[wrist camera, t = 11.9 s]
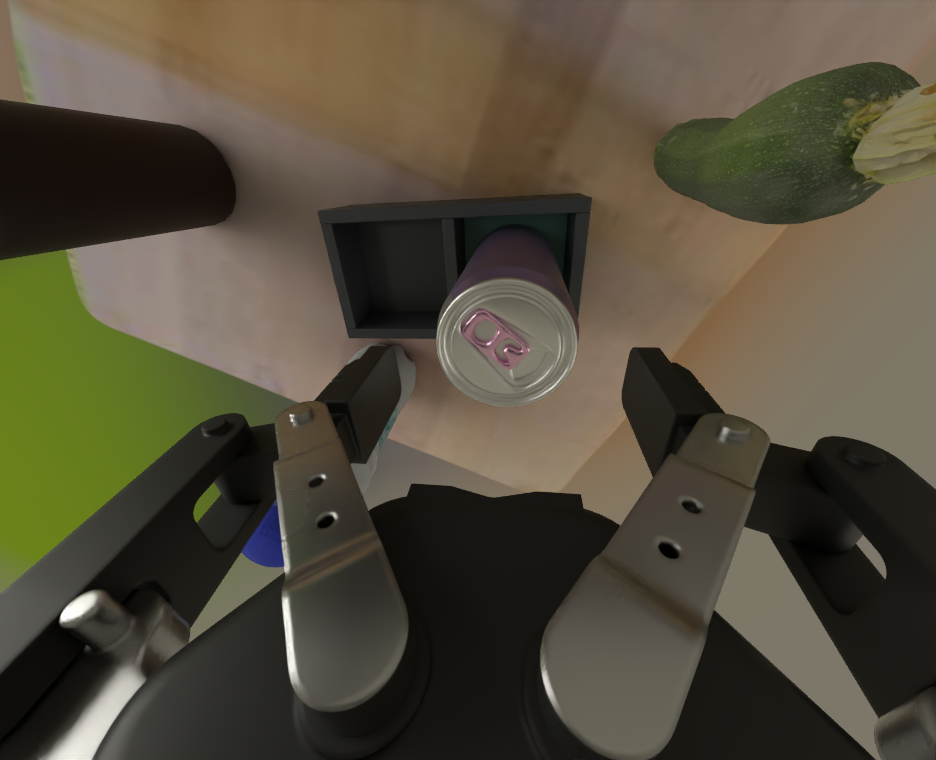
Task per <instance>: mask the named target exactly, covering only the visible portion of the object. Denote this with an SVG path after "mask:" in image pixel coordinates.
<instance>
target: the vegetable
mask: <svg viewBox="0 0 936 760" xmlns="http://www.w3.org/2000/svg"><path fill="white" fill-rule="evenodd" d="M653 158H654V166H655V169H656V173H657V175H658V176H659V177H660V178H661V179H662V180H663V181H664V182H665V183H666V184H667V185H668V186H669V187H670V188H671V189H672V190H674V191H676V192H678V193H680V194H682V195H684V196H687V197H690V198H692V199H694V200H697V201H700V202H702V203H705V204H706V205H707V206H709V207H711V208H713V209H715V210H718V211H720V212H724V213H726V214H729V215H731V216H733V217H736V218H739V219H743V220H747V221H753V222H759V223H765V224H797V223H804V222H808V221H812V220H817V219H820V218H824V217H828V216H831V215H836V214H839V213H842V212H845V211H846V210H849V209H851V208H853V207H855V206H857V205H859V204H861V203H863V202H864V201H865V200H866V199H868V198H869V197H870V196H871V195H873V194H874V193H875V192H876V191H878V190H879V189H880V188H881V187H882V186H884V185H885V184H893V183H899V182H904V181H909V180H912V179H916V178H920V177H923V176H927V175H931V174H934V173H936V81H935V82H933V83H930V84H927V85H923V86H920V85H919V83H918V82H917V81H916V80H915V79H914V77H912V76H911V75H909V74H907V73H906V72H904V71H903V70H901V69H900V68H898V67H896V66H895V65H891V64H886V63H881V62H869V63H862V64H856V65H851V66H847V67H843V68H839V69H834V70H831V71H828V72H825V73H821V74H818V75H815V76H812V77H809V78H806V79H803V80H800V81H798V82H795V83H793V84H791V85H789V86H787V87H785V88H783V89H781V90H780V91H778V92H776V93H775V94H773V95H771V96H770V97H768V98H766V99H765V100H763V101H761V102H760V103H758V104H757V105H755V106H753V107H752V108H750V109H748V110H747V111H745V112H744V113H742V114H741V115H739V116H738V117H737V118H735V119H730V118H710V119H694V120H690V121H688V122H686V123H680V124H677V125H676V126H675V127H674V128H673V129H672V130H671V131H670V132H668V133H667V135H666V136H665V137H664V138H663V140H661V141H660V142H659V143H658V144H657V145H656V151H655V155H654V157H653Z"/></svg>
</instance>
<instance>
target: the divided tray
mask: <svg viewBox="0 0 936 760" xmlns="http://www.w3.org/2000/svg"><path fill="white" fill-rule="evenodd" d="M591 200H592V198H591V197H589V196H586V195H583V194H580V193H575V194H556V195H537V196H517V197H498V198H479V199H459V200H440V201H421V202H401V203H382V204H363V205H348V206H342V207H337V208H331V209H326V210H320V211H318V215H319V219H320V223H321V227H322V231H323V235H324V239H325V243H326V247H327V251H328V256H329V260H330V264H331V268H332V272H333V276H334V280H335V284H336V288H337V292H338V296H339V300H340V304H341V308H342V312H343V316H344V320H345V324H346V328H347V333H348V337H349V338H417V339H436V336H437V323H438V318H439V314H440V311H441V309H442V306H443V304H444V302H445V300H446V299H447V297H448V295H449V294H450V292H451V291H452V289H453V287H454V286H455V284H456V282H457V281H458V279H459V277H460V276H461V274H462V272H463V271H464V269H465V267H466V266H467V264H468V262H469V261H470V259H471V258H472V256H473V254H474V253H475V251H476V249H477V248H478V246H479V244H480V243H481V241H482V240H483V239H484V238H485V237H486V236H487V235H488V234H489V233H490V232H491V231H493V230H495V229H496V228H498V227H501V226H504V225H508V224H522V225H526V226H529V227H531V228H533V229H535V230H537V231H538V232H539V233H541V234H542V235H543V236H544V238H545V239H546V240H547V242H548V243H549V245H550V247H551V250H552V252H553V255H554V257H555V260H556V262H557V265H558V268H559V270H560V273H561V275H562V278H563V280H564V283H565V286H566V288H567V291H568V293H569V296H570V298H571V301H572V303H573V306H574V309H575V311H576V314H577V318H578V314H579V305H580V296H581V287H582V279H583V270H584V261H585V253H586V244H587V235H588V227H589V218H590V209H591Z"/></svg>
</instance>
